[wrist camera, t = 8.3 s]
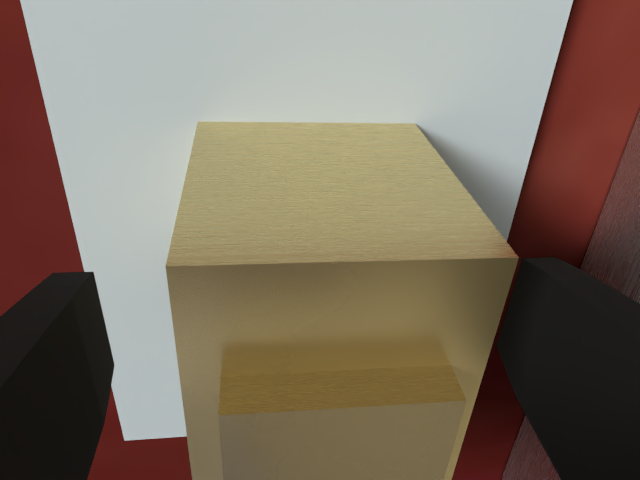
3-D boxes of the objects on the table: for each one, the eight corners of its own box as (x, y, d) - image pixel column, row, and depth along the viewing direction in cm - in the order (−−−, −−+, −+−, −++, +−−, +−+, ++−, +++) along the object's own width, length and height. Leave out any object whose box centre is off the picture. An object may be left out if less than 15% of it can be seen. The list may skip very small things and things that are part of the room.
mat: (451, 400, 15) (458, 417, 15) (128, 421, 14) (124, 440, 14) (576, -87, 9) (596, -87, 8) (8, -120, 8) (-8, -121, 7)
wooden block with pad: (383, 325, 13) (455, 541, 8) (213, 332, 12) (195, 567, 8) (415, 123, 10) (543, 289, 6) (197, 121, 9) (157, 301, 5)
